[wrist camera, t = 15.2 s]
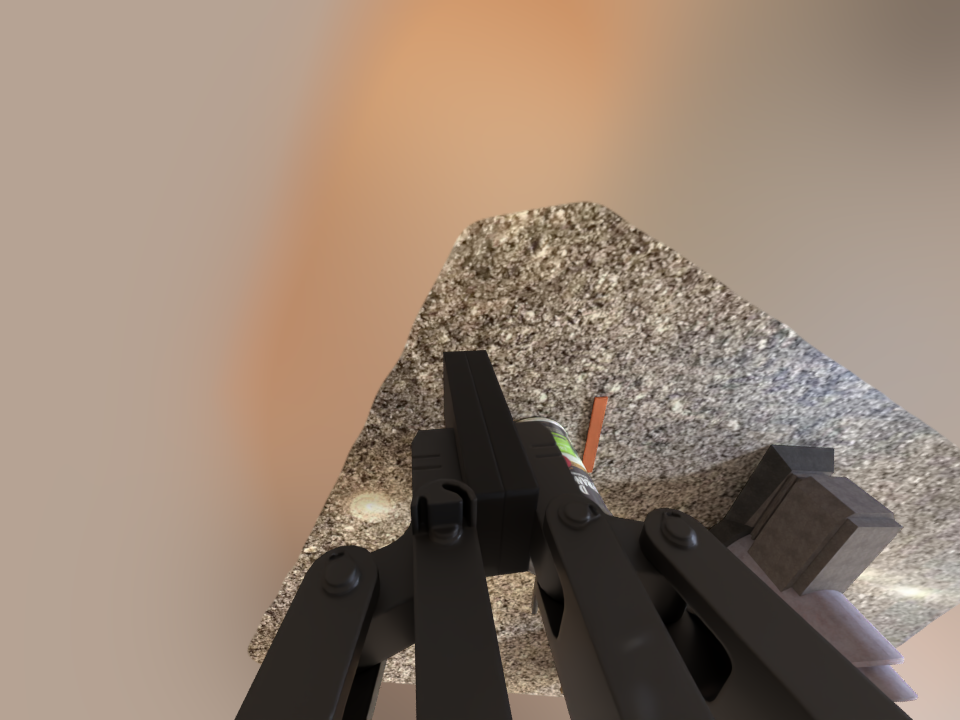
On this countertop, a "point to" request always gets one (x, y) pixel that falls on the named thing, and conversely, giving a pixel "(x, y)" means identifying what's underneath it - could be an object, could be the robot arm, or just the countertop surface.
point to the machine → (816, 550)
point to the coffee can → (571, 465)
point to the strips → (594, 432)
